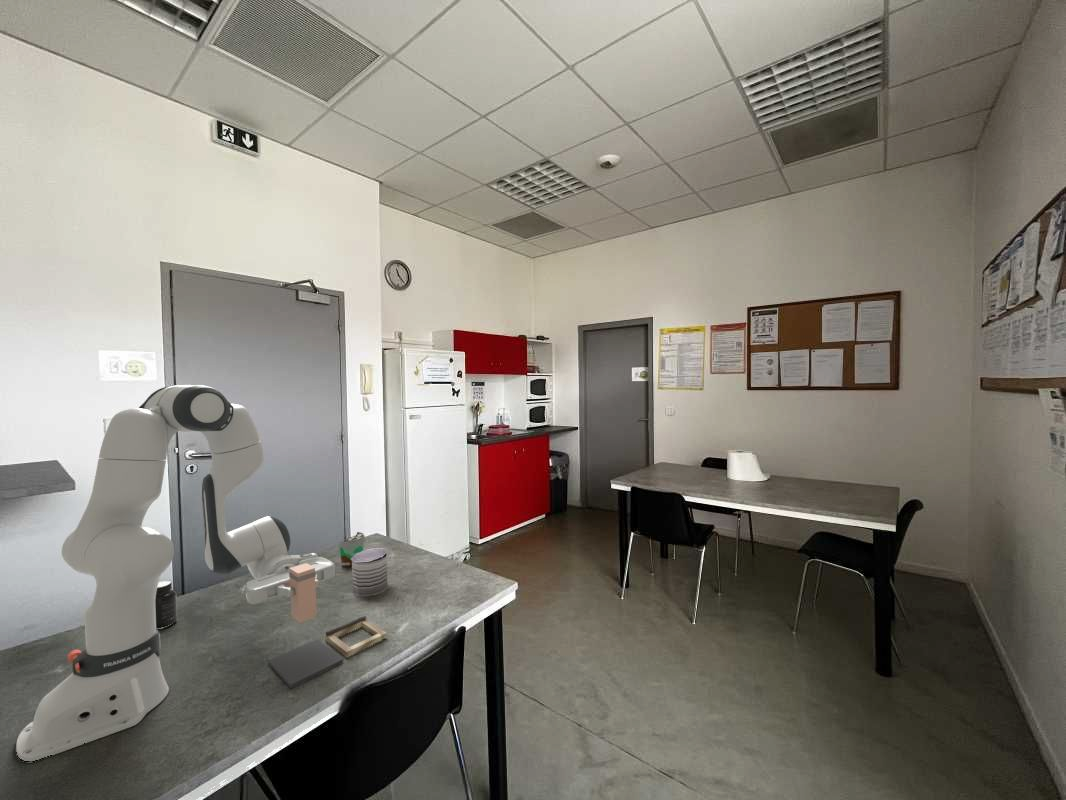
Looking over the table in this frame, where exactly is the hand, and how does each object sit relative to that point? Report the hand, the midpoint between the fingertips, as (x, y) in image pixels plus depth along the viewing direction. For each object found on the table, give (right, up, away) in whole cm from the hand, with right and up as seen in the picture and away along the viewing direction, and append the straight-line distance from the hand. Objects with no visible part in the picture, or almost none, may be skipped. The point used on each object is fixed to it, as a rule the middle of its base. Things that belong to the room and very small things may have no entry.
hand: (304, 589), depth 108 cm
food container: (-13, -17, +63) cm, 67 cm away
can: (+1, -17, +41) cm, 45 cm away
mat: (0, -19, +1) cm, 19 cm away
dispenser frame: (+8, -18, +11) cm, 23 cm away
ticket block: (-1, -7, +1) cm, 7 cm away
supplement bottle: (-51, -19, +20) cm, 58 cm away
